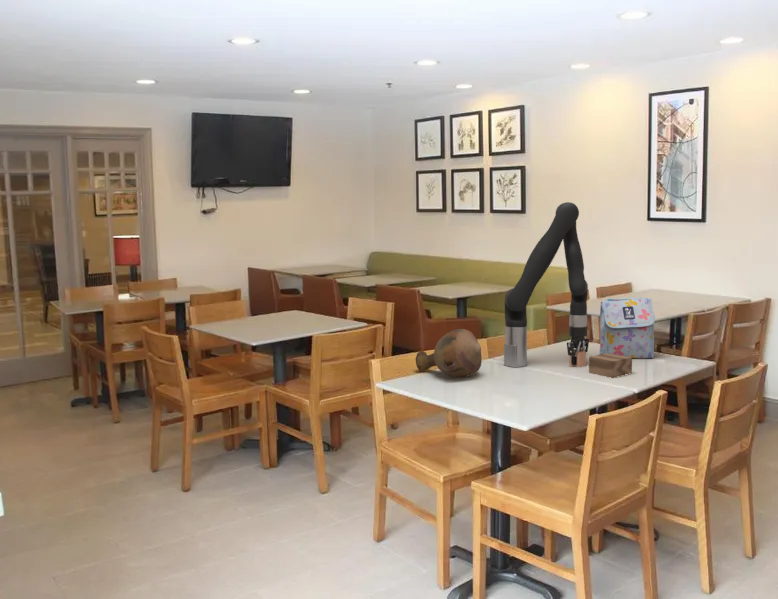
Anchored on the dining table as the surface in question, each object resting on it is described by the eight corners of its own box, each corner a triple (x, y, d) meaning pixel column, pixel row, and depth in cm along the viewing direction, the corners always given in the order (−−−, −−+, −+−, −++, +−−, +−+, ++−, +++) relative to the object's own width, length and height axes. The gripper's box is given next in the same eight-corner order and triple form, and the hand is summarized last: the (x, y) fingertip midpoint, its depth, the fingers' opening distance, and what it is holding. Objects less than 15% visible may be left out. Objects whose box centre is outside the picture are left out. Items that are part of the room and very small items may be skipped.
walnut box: (612, 378, 308) (612, 361, 307) (588, 373, 318) (589, 356, 317) (631, 374, 315) (632, 357, 314) (608, 369, 325) (608, 352, 324)
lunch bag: (603, 360, 340) (604, 301, 336) (596, 352, 357) (597, 296, 353) (656, 360, 338) (657, 300, 335) (646, 352, 355) (647, 295, 351)
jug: (494, 376, 315) (436, 379, 335) (492, 328, 318) (435, 334, 337) (464, 375, 300) (405, 378, 320) (463, 325, 302) (404, 331, 322)
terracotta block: (579, 367, 329) (579, 353, 328) (569, 365, 332) (569, 351, 331) (586, 365, 332) (586, 351, 331) (576, 363, 336) (576, 349, 335)
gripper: (576, 328, 322) (575, 368, 325) (595, 323, 332) (594, 362, 334) (561, 326, 328) (560, 365, 330) (580, 321, 337) (579, 360, 340)
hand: (577, 363), depth 332 cm, fingers closed on terracotta block, 5 cm apart
